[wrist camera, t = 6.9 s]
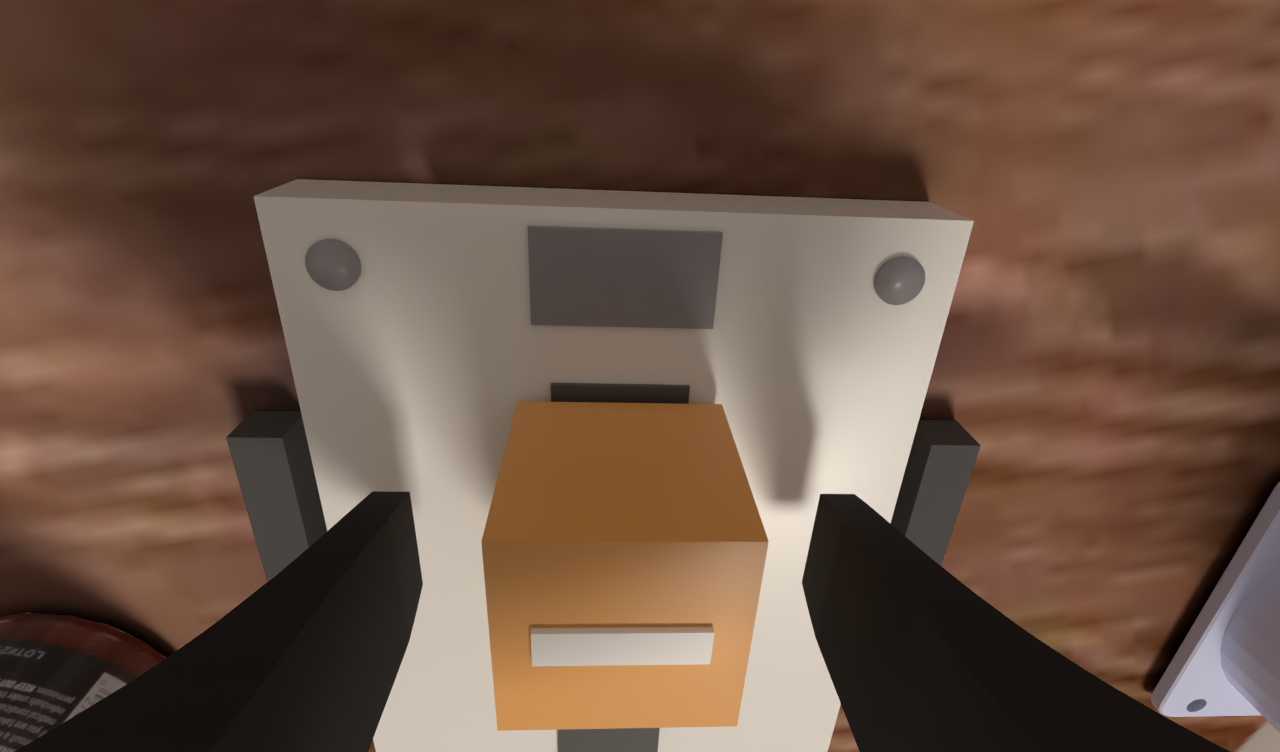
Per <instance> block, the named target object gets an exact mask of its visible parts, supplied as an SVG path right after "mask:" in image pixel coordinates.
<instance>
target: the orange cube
mask: <svg viewBox="0 0 1280 752" xmlns="http://www.w3.org/2000/svg"><path fill="white" fill-rule="evenodd" d="M768 543H769V541H768V538H767V535H766V532H765V529H764V526H763V523H762V520H761V518H760V515H759V512H758V509H757V506H756V503H755V500H754V497H753V494H752V491H751V488H750V485H749V482H748V479H747V476H746V473H745V470H744V468H743V465H742V462H741V459H740V456H739V453H738V450H737V447H736V444H735V441H734V438H733V435H732V432H731V429H730V426H729V423H728V420H727V417H726V415H725V412H724V409H723V406H722V404H671V403H604V402H536V401H517V404H516V408H515V412H514V416H513V420H512V424H511V427H510V431H509V435H508V439H507V443H506V447H505V451H504V455H503V459H502V463H501V466H500V470H499V474H498V478H497V482H496V486H495V490H494V494H493V498H492V502H491V505H490V509H489V513H488V517H487V521H486V525H485V529H484V533H483V537H482V541H481V544H482V556H483V568H484V579H485V591H486V603H487V615H488V626H489V638H490V650H491V661H492V673H493V685H494V697H495V708H496V720H497V731H505V730H561V729H617V728H673V727H728V726H737V724H738V718H739V712H740V706H741V700H742V694H743V689H744V683H745V677H746V671H747V665H748V660H749V654H750V648H751V642H752V636H753V630H754V625H755V619H756V613H757V607H758V601H759V595H760V590H761V584H762V578H763V572H764V566H765V560H766V555H767V549H768Z"/></svg>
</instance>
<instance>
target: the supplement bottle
mask: <svg viewBox="0 0 1280 752" xmlns="http://www.w3.org/2000/svg"><path fill="white" fill-rule="evenodd" d="M166 658H167V657H165V656H164V655H162V654H160V653H159V652H157V651H155V650H154V649H153V648H152V647H151V646H150V645H148V644H146V643H144V642H143V641H142V640H140V639H137V638H136V637H133V636H131V635H130V634H128V633H127V632H124V631H121V630H119V629H117V628H115V627H112V626H110V625H107V624H103V623H97V622H94V621H89V620H85V619H81V618H79V617H76V616H69V615H54V614H41V613H29V612H26V613H20V614H13V615H7V616H2V617H0V752H14V751H16V750H18V749H20V748H21V747H23V746H25V745H27V744H29V743H30V742H32V741H34V740H36V739H37V738H39V737H41V736H43V735H44V734H46V733H48V732H49V731H51V730H52V729H54V728H56V727H57V726H59V725H61V724H62V723H64V722H66V721H67V720H69V719H71V718H72V717H74V716H76V715H77V714H79V713H80V712H82V711H84V710H85V709H87V708H89V707H90V706H92V705H94V704H95V703H97V702H99V701H100V700H102V699H104V698H105V697H107V696H108V695H110V694H112V693H113V692H115V691H117V690H118V689H120V688H122V687H123V686H125V685H127V684H128V683H130V682H131V681H133V680H134V679H136V678H137V677H139V676H140V675H142V674H143V673H145V672H146V671H148V670H149V669H151V668H152V667H154V666H155V665H157V664H158V663H160V662H161V661H163V660H164V659H166Z"/></svg>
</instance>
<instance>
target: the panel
mask: <svg viewBox="0 0 1280 752" xmlns="http://www.w3.org/2000/svg"><path fill="white" fill-rule="evenodd" d="M253 197H254V201H255V206H256V210H257V215H258V220H259V224H260V229H261V233H262V238H263V242H264V247H265V251H266V256H267V260H268V265H269V269H270V274H271V278H272V283H273V287H274V292H275V296H276V301H277V306H278V310H279V315H280V319H281V324H282V328H283V333H284V337H285V342H286V346H287V351H288V355H289V360H290V364H291V369H292V373H293V378H294V382H295V387H296V392H297V396H298V401H299V405H300V410H301V414H302V419H303V423H304V428H305V432H306V437H307V441H308V446H309V450H310V455H311V459H312V464H313V469H314V473H315V478H316V482H317V487H318V491H319V496H320V500H321V505H322V509H323V514H324V518H325V523H326V527H327V531H328V530H329V529H330V528H331V527H333V526H334V525H335V524H336V523H337V522H338V521H339V520H340V519H342V518H343V517H344V516H345V515H346V514H347V513H348V512H350V511H351V510H352V509H353V508H354V507H355V506H356V505H357V504H359V503H360V502H361V501H362V500H363V499H364V498H365V497H367V496H368V495H369V494H370V493H371V492H373V491H387V492H410V497H411V504H412V511H413V518H414V525H415V532H416V539H417V546H418V553H419V560H420V567H421V574H422V581H423V586H422V590H421V595H420V599H419V603H418V608H417V612H416V616H415V620H414V624H413V628H412V632H411V636H410V640H409V643H408V646H407V649H406V652H405V654H404V657H403V660H402V663H401V665H400V668H399V671H398V673H397V676H396V679H395V681H394V684H393V687H392V690H391V692H390V695H389V697H388V700H387V703H386V705H385V708H384V711H383V713H382V716H381V719H380V721H379V724H378V727H377V729H376V732H375V734H374V737H373V740H374V745H375V749H376V752H828V748H829V744H830V741H831V737H832V733H833V730H834V726H835V723H836V719H837V715H838V712H839V708H840V704H841V703H840V700H839V697H838V695H837V692H836V690H835V687H834V685H833V682H832V680H831V677H830V674H829V672H828V669H827V667H826V664H825V661H824V659H823V656H822V654H821V651H820V648H819V646H818V643H817V640H816V638H815V634H814V630H813V626H812V623H811V619H810V615H809V611H808V607H807V603H806V598H805V594H804V590H803V586H802V579H803V574H804V569H805V564H806V560H807V555H808V550H809V545H810V540H811V536H812V531H813V526H814V521H815V516H816V512H817V507H818V502H819V497H820V494H855V495H856V496H858V497H859V498H860V499H862V500H863V501H864V502H865V503H867V504H868V505H869V506H870V507H871V508H873V509H874V510H875V511H876V512H877V513H879V514H880V515H881V516H882V517H883V518H884V519H886V520H887V521H888V522H889V523H891V520H892V516H893V512H894V509H895V505H896V501H897V498H898V494H899V491H900V487H901V483H902V480H903V476H904V472H905V469H906V465H907V462H908V458H909V454H910V451H911V447H912V443H913V440H914V436H915V433H916V429H917V425H918V422H919V418H920V414H921V411H922V407H923V404H924V400H925V396H926V393H927V389H928V385H929V382H930V378H931V375H932V371H933V367H934V364H935V360H936V357H937V353H938V349H939V346H940V342H941V338H942V335H943V331H944V328H945V324H946V320H947V317H948V313H949V309H950V306H951V302H952V299H953V295H954V291H955V288H956V284H957V280H958V277H959V273H960V270H961V266H962V262H963V259H964V255H965V251H966V248H967V244H968V241H969V237H970V233H971V230H972V226H973V222H974V221H973V220H971V219H968V218H966V217H964V216H962V215H959V214H957V213H955V212H952V211H950V210H948V209H946V208H943V207H941V206H939V205H936V204H934V203H932V202H919V201H891V200H864V199H836V198H808V197H780V196H753V195H725V194H697V193H670V192H642V191H614V190H587V189H559V188H531V187H504V186H476V185H448V184H421V183H393V182H365V181H338V180H310V179H296V180H294V181H291V182H289V183H286V184H283V185H281V186H278V187H276V188H273V189H271V190H268V191H265V192H263V193H260V194H258V195H255V196H253ZM517 401H536V402H604V403H671V404H722V406H723V409H724V412H725V415H726V417H727V420H728V423H729V426H730V429H731V432H732V435H733V438H734V441H735V444H736V447H737V450H738V453H739V456H740V459H741V462H742V465H743V468H744V470H745V473H746V476H747V479H748V482H749V485H750V488H751V491H752V494H753V497H754V500H755V503H756V506H757V509H758V512H759V515H760V518H761V520H762V523H763V526H764V529H765V532H766V535H767V538H768V541H769V543H768V549H767V555H766V560H765V566H764V572H763V578H762V584H761V590H760V595H759V601H758V607H757V613H756V619H755V625H754V630H753V636H752V642H751V648H750V654H749V660H748V665H747V671H746V677H745V683H744V689H743V694H742V700H741V706H740V712H739V718H738V724H737V726H728V727H673V728H617V729H561V730H505V731H497V720H496V708H495V697H494V685H493V673H492V661H491V650H490V638H489V626H488V615H487V603H486V591H485V579H484V568H483V556H482V544H481V541H482V537H483V533H484V529H485V525H486V521H487V517H488V513H489V509H490V505H491V502H492V498H493V494H494V490H495V486H496V482H497V478H498V474H499V470H500V466H501V463H502V459H503V455H504V451H505V447H506V443H507V439H508V435H509V431H510V427H511V424H512V420H513V416H514V412H515V408H516V404H517Z"/></svg>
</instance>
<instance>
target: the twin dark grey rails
mask: <svg viewBox="0 0 1280 752" xmlns="http://www.w3.org/2000/svg"><path fill="white" fill-rule="evenodd" d="M226 439H227V442H228V446H229V449H230V453H231V456H232V460H233V463H234V467H235V470H236V474H237V477H238V481H239V484H240V488H241V491H242V495H243V498H244V502H245V505H246V508H247V512H248V515H249V519H250V522H251V526H252V529H253V533H254V536H255V540H256V543H257V547H258V550H259V554H260V557H261V561H262V564H263V568H264V571H265V575H266V578H267V582H269V581H270V580H271V579H272V578H274V577H275V576H276V575H277V574H278V573H280V572H281V571H282V570H283V569H284V568H285V567H287V566H288V565H289V564H290V563H291V562H292V561H294V560H295V559H296V558H297V557H298V556H300V555H301V554H302V553H303V552H304V551H305V550H307V549H308V548H309V547H310V546H311V545H312V544H313V543H315V542H316V541H317V540H318V539H319V538H320V537H321V536H322V535H324V534H325V533H326V532H327V527H326V523H325V518H324V514H323V509H322V505H321V500H320V496H319V491H318V487H317V482H316V478H315V473H314V469H313V464H312V459H311V455H310V450H309V446H308V441H307V437H306V432H305V428H304V423H303V419H302V414H301V411H252V412H251V413H250V414H249V415H248V416H247V417H246V418H245V419H244V420H243V421H242V422H241V423H240V424H239V425H238V426H237V427H236V428H235V429H234V430H233V431H232V432H231V433H230V434H229V435H228V436H227V437H226ZM980 446H981V445H980V444H979V443H978V442H977V441H976V440H975V439H974V438H973V437H972V436H971V435H970V434H969V433H968V432H967V431H966V430H965V429H964V428H963V427H962V426H961V425H960V424H959V423H958V422H957V421H956V420H919V422H918V425H917V429H916V433H915V436H914V440H913V443H912V447H911V451H910V454H909V458H908V462H907V465H906V469H905V472H904V476H903V480H902V483H901V487H900V491H899V494H898V498H897V501H896V505H895V509H894V512H893V516H892V520H891V523H890V524H891V525H893V526H894V527H895V528H896V529H897V530H898V531H900V532H901V533H902V534H903V535H904V536H905V537H907V538H908V539H909V540H910V541H911V542H912V543H914V544H915V545H916V546H917V547H918V548H920V549H921V550H922V551H923V552H924V553H926V554H927V555H928V556H929V557H930V558H932V559H933V560H934V561H935V562H936V563H938V564H939V565H940V566H941V563H942V560H943V557H944V554H945V551H946V548H947V545H948V542H949V539H950V536H951V533H952V530H953V527H954V524H955V521H956V518H957V515H958V512H959V509H960V506H961V503H962V500H963V497H964V494H965V491H966V488H967V485H968V482H969V479H970V476H971V473H972V470H973V467H974V464H975V461H976V458H977V455H978V452H979V449H980Z"/></svg>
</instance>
